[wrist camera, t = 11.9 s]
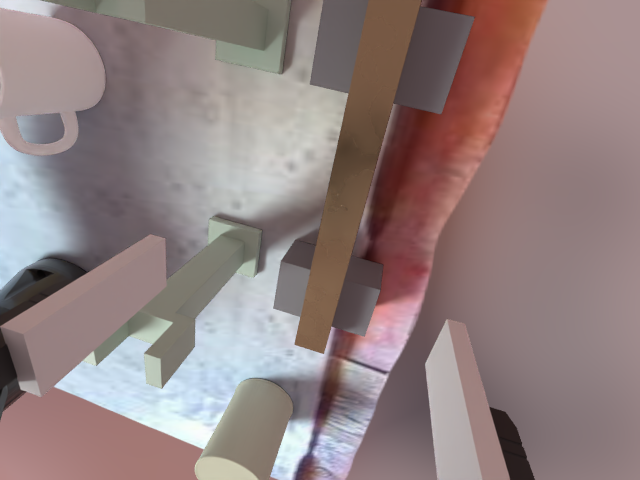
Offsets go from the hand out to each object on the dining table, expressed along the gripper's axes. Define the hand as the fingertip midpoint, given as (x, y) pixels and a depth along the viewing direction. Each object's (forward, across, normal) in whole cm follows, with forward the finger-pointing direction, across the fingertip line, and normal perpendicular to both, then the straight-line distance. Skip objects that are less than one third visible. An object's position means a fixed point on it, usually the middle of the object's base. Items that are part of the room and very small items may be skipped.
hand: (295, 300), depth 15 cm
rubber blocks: (+20, -1, 0) cm, 20 cm away
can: (+20, +5, +36) cm, 42 cm away
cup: (+21, +30, -3) cm, 37 cm away
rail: (+15, 0, 0) cm, 15 cm away
